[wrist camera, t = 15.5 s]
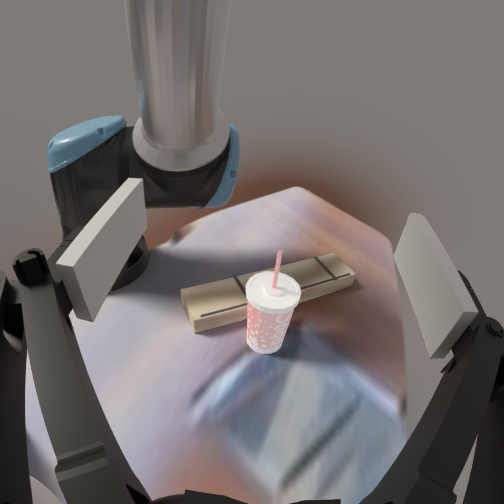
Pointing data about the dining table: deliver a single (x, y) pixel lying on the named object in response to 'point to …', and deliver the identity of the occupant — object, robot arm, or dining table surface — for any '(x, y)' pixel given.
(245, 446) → the dining table surface
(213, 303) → the maple strip
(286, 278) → the beverage cup
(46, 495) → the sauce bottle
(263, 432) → the dining table surface
